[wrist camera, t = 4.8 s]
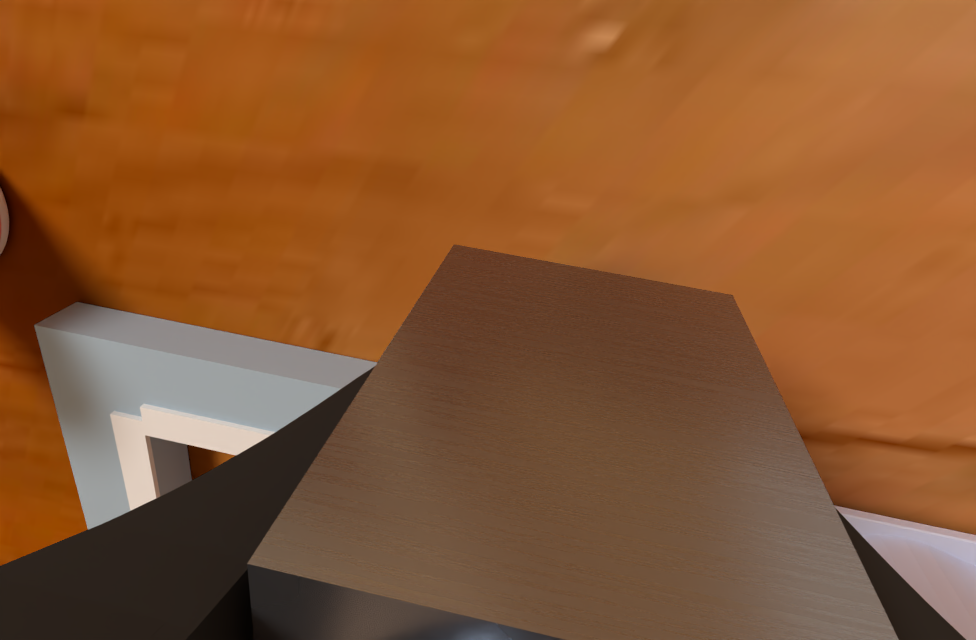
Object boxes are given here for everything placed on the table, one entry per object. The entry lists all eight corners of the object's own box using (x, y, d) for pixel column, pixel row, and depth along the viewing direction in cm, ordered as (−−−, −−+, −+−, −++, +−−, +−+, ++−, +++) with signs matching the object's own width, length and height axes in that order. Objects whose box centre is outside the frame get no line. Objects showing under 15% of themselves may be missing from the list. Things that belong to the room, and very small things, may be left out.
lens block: (732, 295, 9) (980, 805, 3) (658, 504, 11) (723, 1052, 5) (454, 244, 10) (212, 616, 4) (431, 455, 12) (254, 914, 6)
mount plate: (449, 377, 20) (434, 412, 18) (419, 633, 26) (406, 677, 24) (76, 301, 21) (28, 327, 19) (134, 563, 27) (102, 601, 25)
